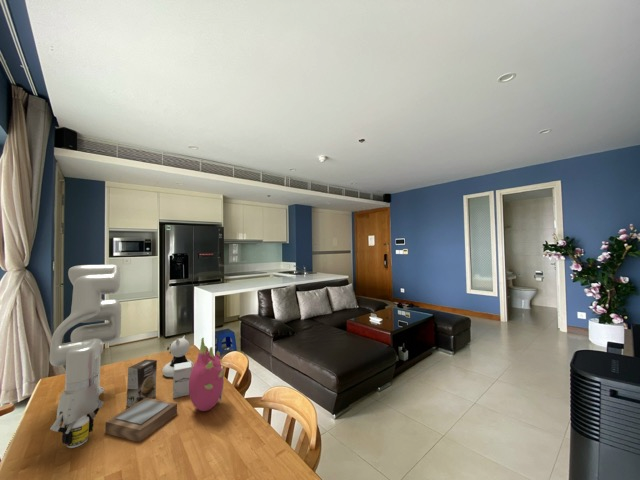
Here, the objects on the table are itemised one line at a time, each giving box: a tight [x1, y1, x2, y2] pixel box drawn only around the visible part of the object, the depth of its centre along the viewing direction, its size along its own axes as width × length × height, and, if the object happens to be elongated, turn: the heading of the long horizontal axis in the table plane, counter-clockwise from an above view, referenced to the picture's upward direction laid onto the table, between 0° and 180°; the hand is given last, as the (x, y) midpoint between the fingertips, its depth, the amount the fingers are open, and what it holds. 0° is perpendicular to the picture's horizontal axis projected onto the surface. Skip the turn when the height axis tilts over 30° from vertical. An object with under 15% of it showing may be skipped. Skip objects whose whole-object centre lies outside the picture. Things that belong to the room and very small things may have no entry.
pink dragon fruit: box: [189, 337, 225, 412], centre depth 108 cm, size 18×14×30 cm
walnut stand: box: [104, 397, 178, 443], centre depth 98 cm, size 16×16×4 cm
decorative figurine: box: [161, 335, 194, 378], centre depth 139 cm, size 15×15×20 cm
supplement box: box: [172, 360, 193, 399], centre depth 119 cm, size 7×7×13 cm
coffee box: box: [125, 359, 158, 408], centre depth 113 cm, size 9×6×16 cm
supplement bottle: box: [66, 415, 90, 449], centre depth 88 cm, size 5×5×10 cm
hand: (78, 436), depth 88 cm, fingers closed on supplement bottle, 5 cm apart
